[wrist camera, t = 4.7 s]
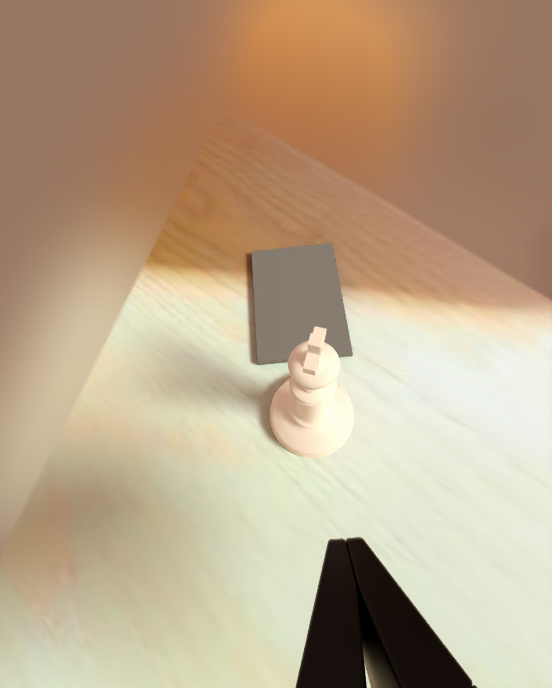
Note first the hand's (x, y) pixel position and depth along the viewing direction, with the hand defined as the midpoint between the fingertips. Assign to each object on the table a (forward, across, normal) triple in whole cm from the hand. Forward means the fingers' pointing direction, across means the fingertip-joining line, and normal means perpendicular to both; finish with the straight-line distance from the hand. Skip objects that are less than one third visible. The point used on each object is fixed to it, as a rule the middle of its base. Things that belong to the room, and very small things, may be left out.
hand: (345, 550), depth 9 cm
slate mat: (+17, 0, -3) cm, 17 cm away
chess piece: (+12, 0, +3) cm, 12 cm away
